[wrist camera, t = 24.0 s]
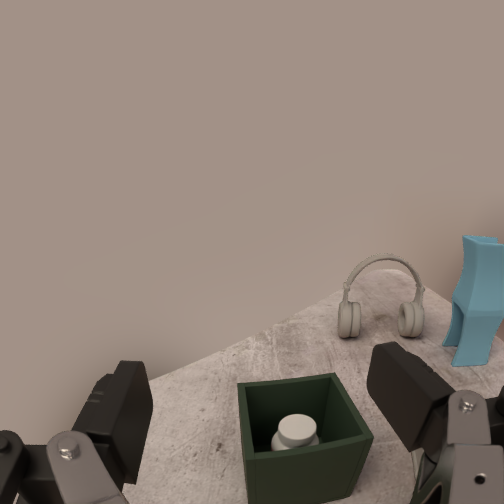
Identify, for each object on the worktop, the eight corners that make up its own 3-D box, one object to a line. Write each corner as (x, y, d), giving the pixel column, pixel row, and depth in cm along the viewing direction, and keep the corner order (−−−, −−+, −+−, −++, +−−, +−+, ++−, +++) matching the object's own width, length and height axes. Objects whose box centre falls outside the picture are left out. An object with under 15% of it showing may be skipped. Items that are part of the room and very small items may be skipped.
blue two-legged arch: (489, 364, 42) (517, 246, 37) (452, 366, 45) (477, 243, 40) (476, 343, 51) (496, 237, 46) (441, 343, 54) (460, 234, 49)
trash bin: (249, 514, 22) (245, 459, 20) (241, 446, 33) (237, 382, 31) (349, 496, 23) (374, 437, 21) (324, 435, 34) (334, 372, 32)
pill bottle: (261, 468, 29) (261, 423, 27) (292, 449, 32) (297, 403, 30) (290, 493, 24) (296, 451, 23) (321, 470, 27) (332, 425, 26)
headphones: (411, 327, 64) (422, 252, 60) (421, 343, 56) (435, 260, 52) (336, 327, 69) (341, 250, 65) (337, 344, 61) (344, 258, 57)
